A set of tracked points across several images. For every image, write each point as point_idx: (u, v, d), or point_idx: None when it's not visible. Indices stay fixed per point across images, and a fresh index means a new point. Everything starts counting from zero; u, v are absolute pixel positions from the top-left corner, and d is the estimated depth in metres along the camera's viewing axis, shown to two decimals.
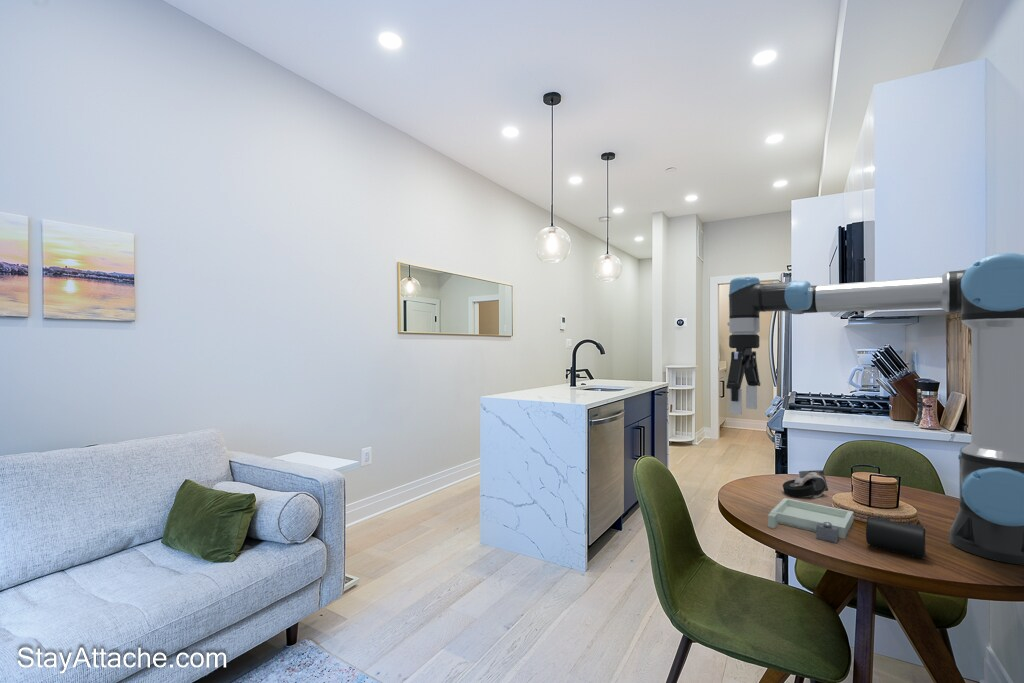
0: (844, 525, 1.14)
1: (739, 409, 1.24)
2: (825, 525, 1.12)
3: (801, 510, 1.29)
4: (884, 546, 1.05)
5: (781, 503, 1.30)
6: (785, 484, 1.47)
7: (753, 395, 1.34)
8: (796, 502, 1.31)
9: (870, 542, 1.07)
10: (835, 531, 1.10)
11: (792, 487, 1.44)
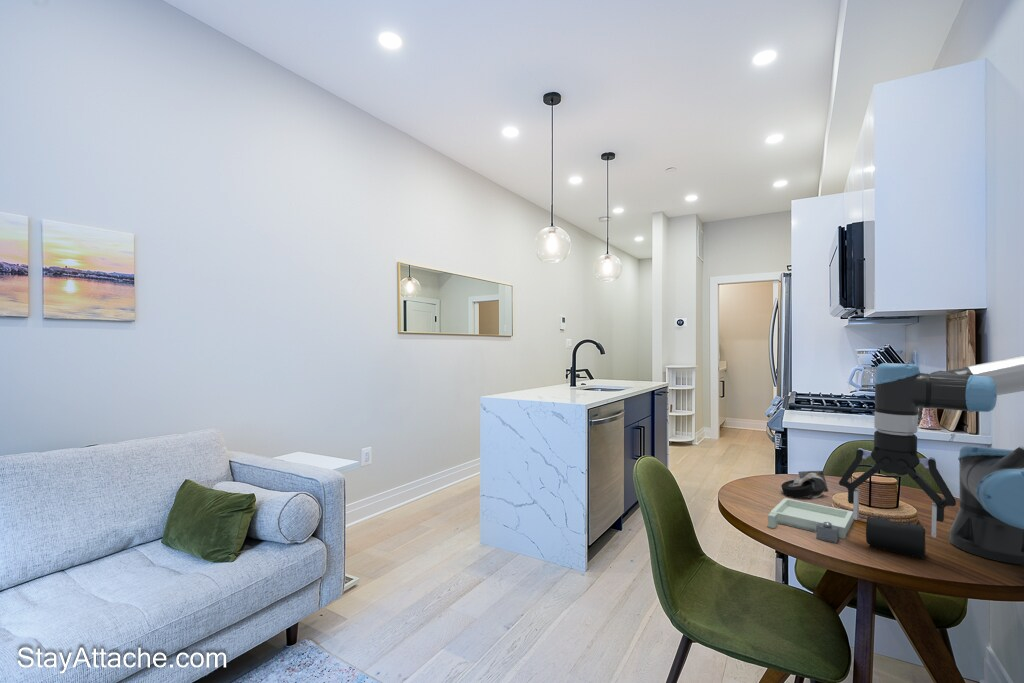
0: (844, 525, 1.14)
1: None
2: (825, 525, 1.12)
3: (801, 510, 1.29)
4: (884, 546, 1.05)
5: (781, 503, 1.30)
6: (784, 484, 1.47)
7: None
8: (796, 502, 1.31)
9: (870, 542, 1.07)
10: (835, 531, 1.10)
11: (790, 487, 1.44)
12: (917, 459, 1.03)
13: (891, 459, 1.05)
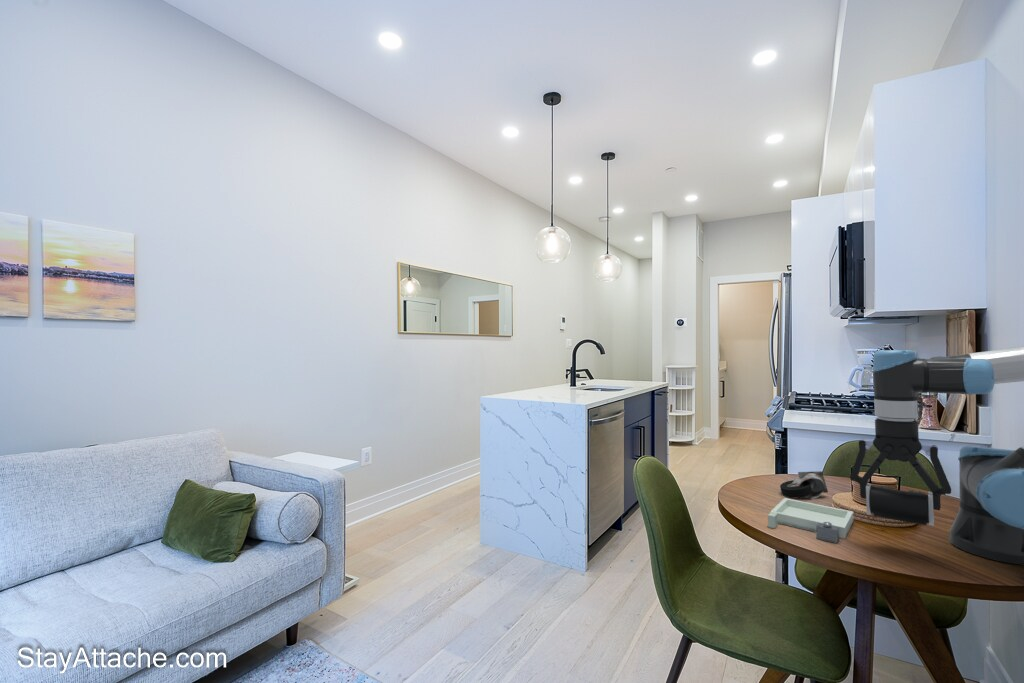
0: (844, 525, 1.14)
1: None
2: (825, 525, 1.12)
3: (801, 510, 1.29)
4: (888, 514, 1.05)
5: (781, 503, 1.30)
6: (783, 484, 1.47)
7: None
8: (796, 502, 1.31)
9: (873, 511, 1.06)
10: (835, 531, 1.10)
11: (789, 487, 1.44)
12: (920, 445, 1.02)
13: (893, 445, 1.05)
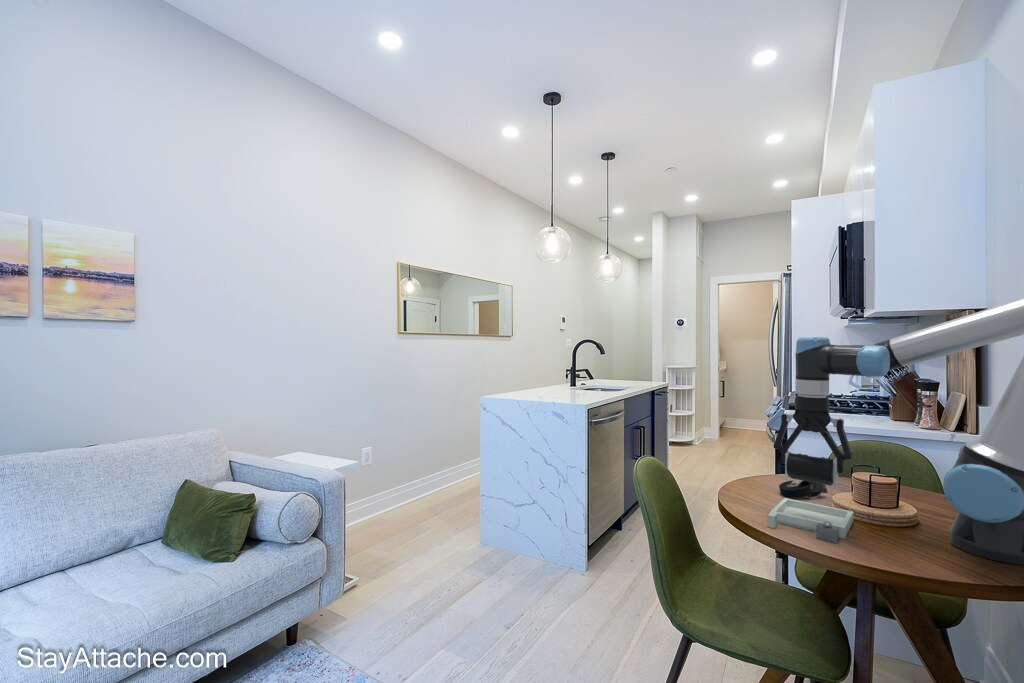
0: (844, 525, 1.14)
1: None
2: (825, 525, 1.12)
3: (801, 510, 1.29)
4: (801, 476, 1.23)
5: (781, 503, 1.30)
6: (782, 484, 1.47)
7: None
8: (796, 502, 1.31)
9: (790, 474, 1.24)
10: (835, 531, 1.10)
11: (787, 487, 1.44)
12: (829, 418, 1.20)
13: (808, 418, 1.23)
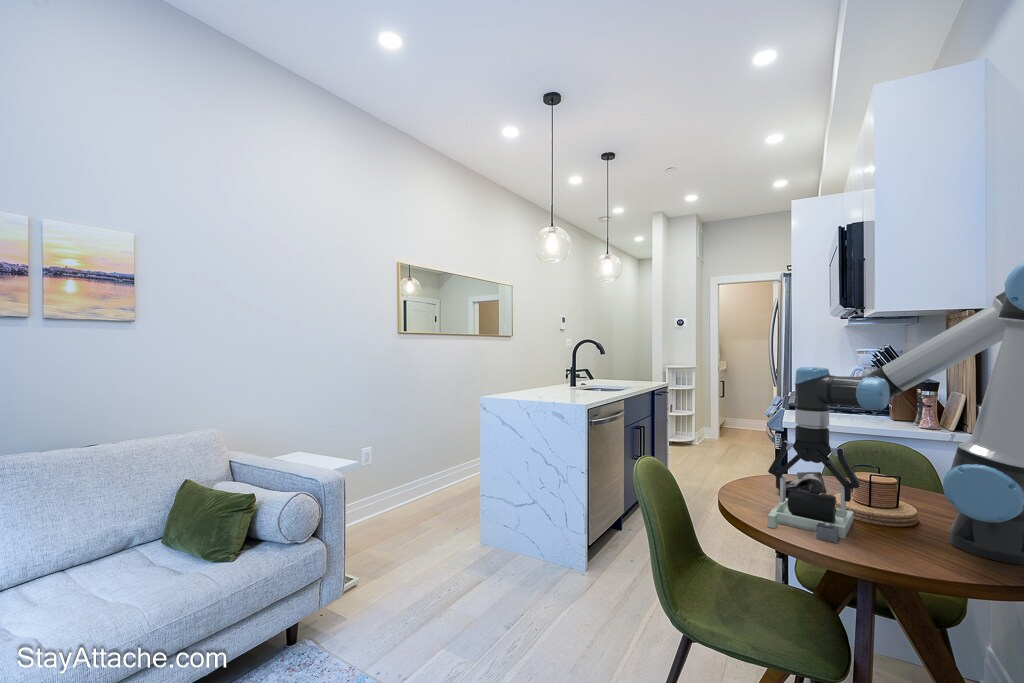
0: (844, 525, 1.14)
1: (780, 497, 1.27)
2: (825, 525, 1.12)
3: None
4: (802, 513, 1.23)
5: (781, 503, 1.30)
6: None
7: (841, 498, 1.19)
8: None
9: (791, 511, 1.24)
10: (835, 531, 1.10)
11: (786, 488, 1.43)
12: (829, 449, 1.20)
13: (808, 449, 1.23)
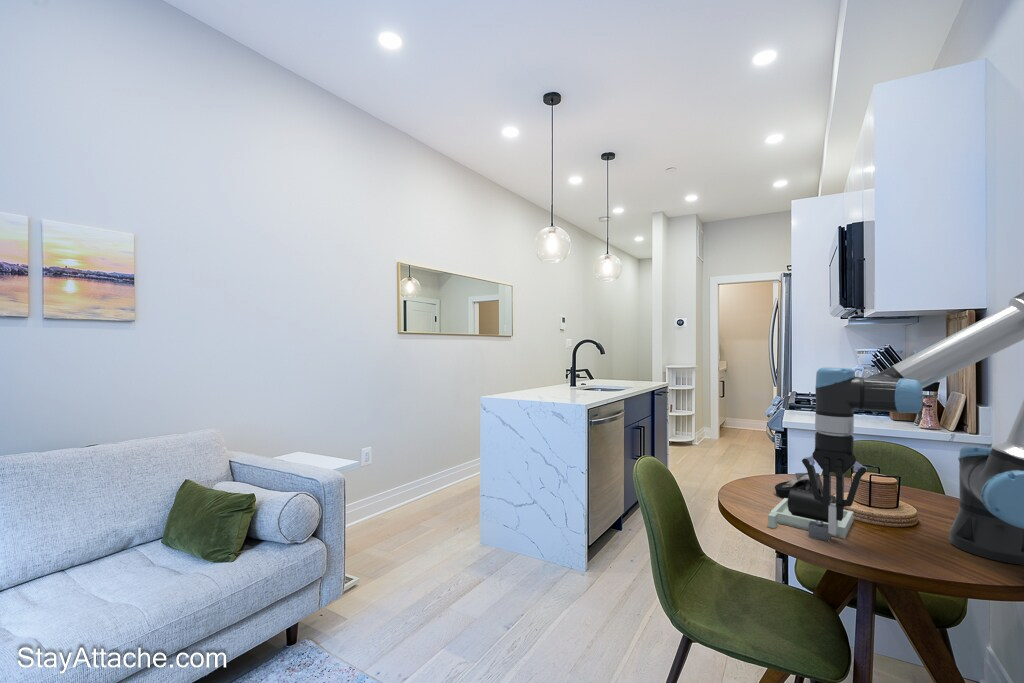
0: (844, 525, 1.14)
1: None
2: (817, 523, 1.13)
3: None
4: (802, 513, 1.23)
5: (781, 503, 1.30)
6: (778, 485, 1.46)
7: None
8: None
9: (791, 511, 1.24)
10: (827, 529, 1.11)
11: (782, 488, 1.43)
12: (854, 461, 1.08)
13: (828, 457, 1.11)
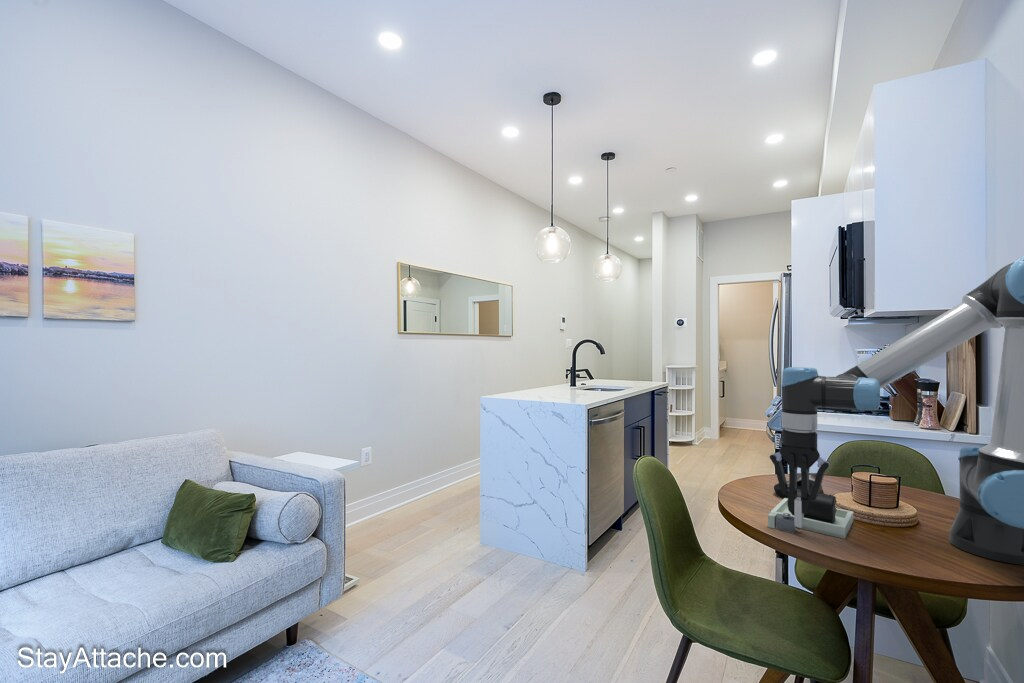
0: (844, 525, 1.14)
1: None
2: (784, 516, 1.18)
3: None
4: None
5: (781, 503, 1.30)
6: (777, 485, 1.47)
7: None
8: None
9: (791, 511, 1.24)
10: (793, 521, 1.16)
11: None
12: (817, 457, 1.13)
13: (794, 453, 1.16)
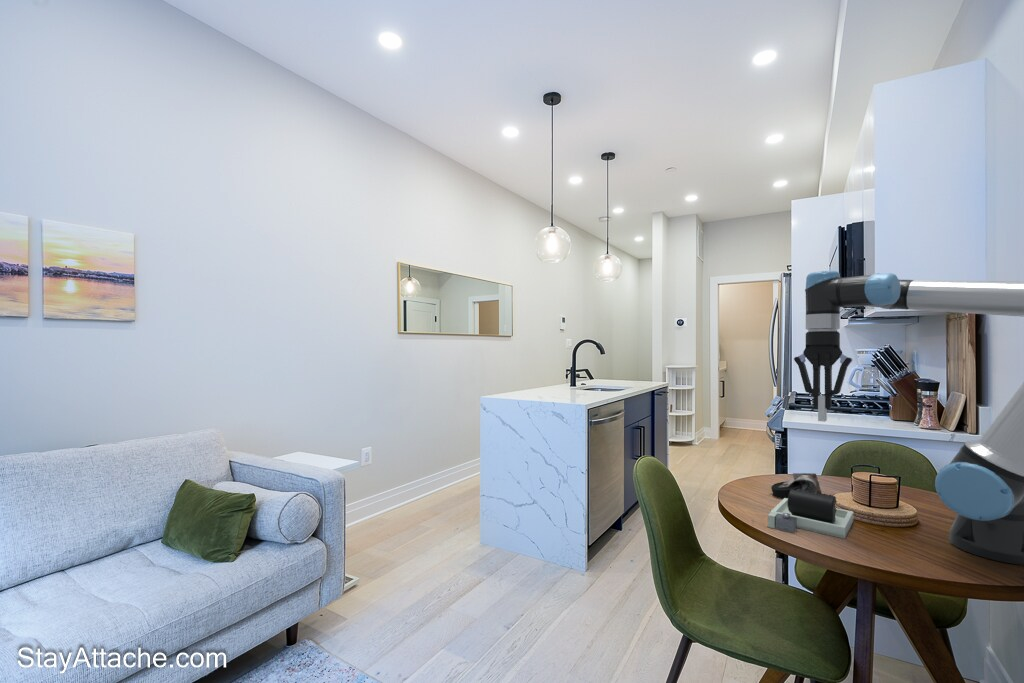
0: (844, 525, 1.14)
1: (818, 416, 1.23)
2: (784, 516, 1.18)
3: None
4: (802, 513, 1.23)
5: (781, 503, 1.30)
6: (775, 485, 1.47)
7: None
8: None
9: (791, 511, 1.24)
10: (792, 521, 1.16)
11: (778, 488, 1.43)
12: (840, 353, 1.20)
13: (817, 352, 1.23)
